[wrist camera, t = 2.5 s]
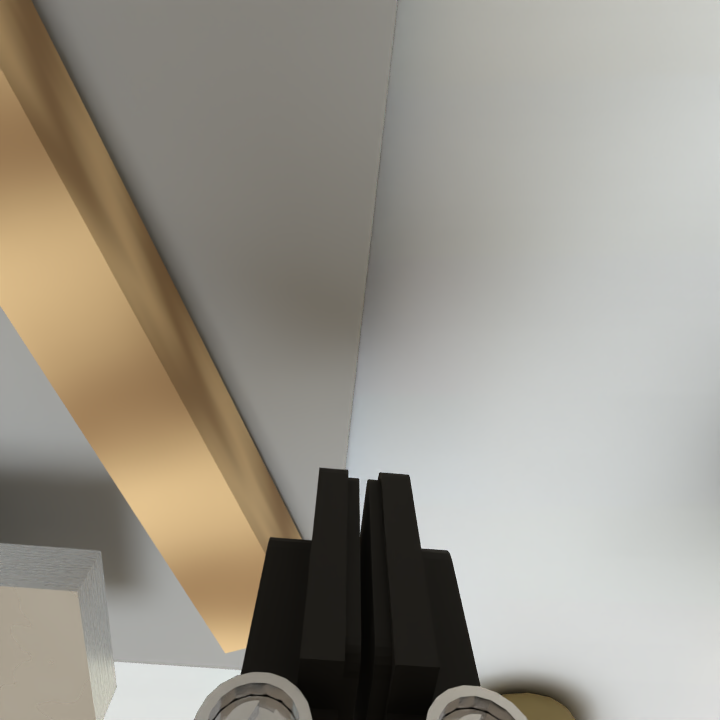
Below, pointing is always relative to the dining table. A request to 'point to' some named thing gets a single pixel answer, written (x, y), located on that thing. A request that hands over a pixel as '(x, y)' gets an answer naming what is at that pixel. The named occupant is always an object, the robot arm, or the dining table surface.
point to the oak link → (124, 339)
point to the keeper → (54, 634)
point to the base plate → (216, 261)
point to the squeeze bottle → (539, 707)
